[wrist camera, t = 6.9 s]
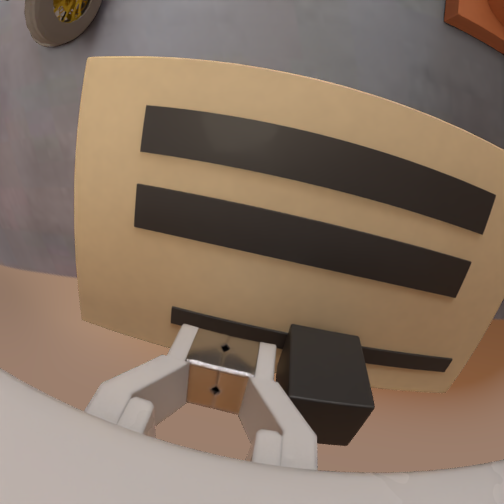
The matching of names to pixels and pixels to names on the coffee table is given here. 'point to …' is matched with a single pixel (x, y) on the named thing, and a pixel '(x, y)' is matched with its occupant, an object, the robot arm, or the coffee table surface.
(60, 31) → the pocket watch
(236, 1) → the coffee table surface
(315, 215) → the striped tan box
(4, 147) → the coffee table surface
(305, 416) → the slider
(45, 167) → the coffee table surface
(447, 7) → the control block
